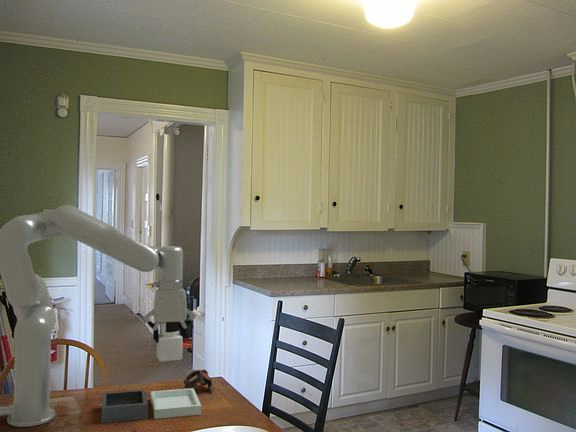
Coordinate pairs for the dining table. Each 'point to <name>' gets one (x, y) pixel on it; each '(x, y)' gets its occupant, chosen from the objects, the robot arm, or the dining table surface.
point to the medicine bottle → (169, 342)
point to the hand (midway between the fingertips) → (169, 340)
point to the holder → (124, 406)
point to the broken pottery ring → (199, 380)
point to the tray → (175, 403)
